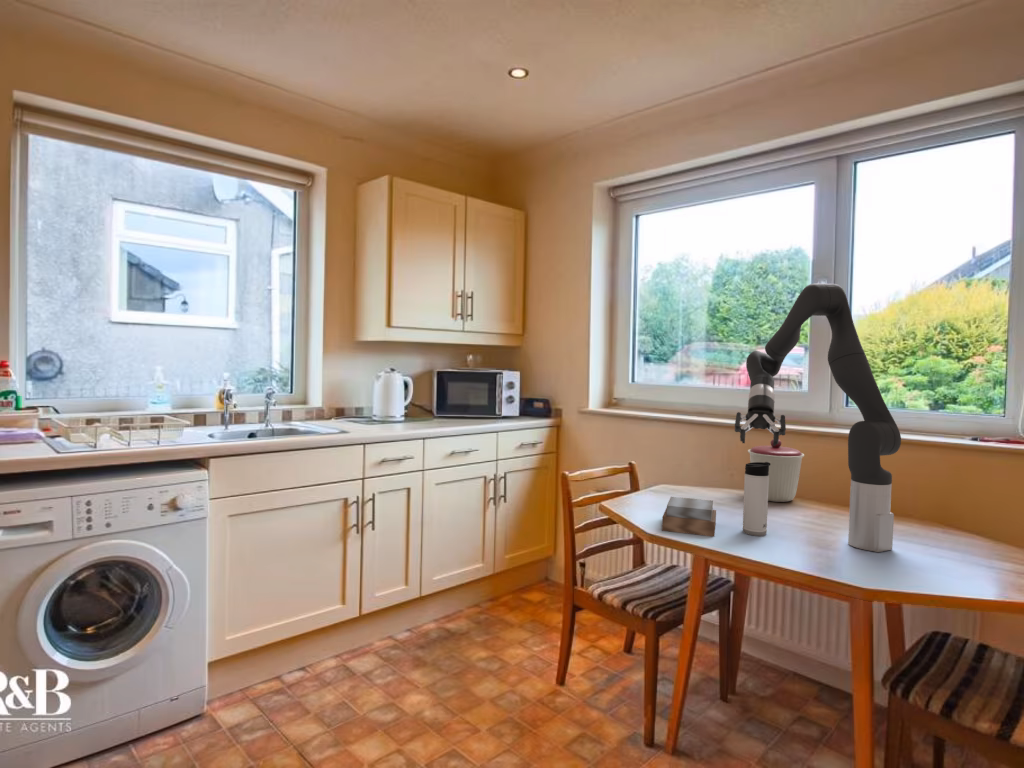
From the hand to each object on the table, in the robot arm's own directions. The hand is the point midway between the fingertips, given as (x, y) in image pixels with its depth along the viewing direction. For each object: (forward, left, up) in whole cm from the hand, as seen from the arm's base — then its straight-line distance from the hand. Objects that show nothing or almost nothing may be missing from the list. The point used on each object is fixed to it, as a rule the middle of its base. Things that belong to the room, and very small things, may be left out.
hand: (758, 443), depth 180 cm
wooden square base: (+4, +22, -24) cm, 33 cm away
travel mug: (-8, +9, -24) cm, 27 cm away
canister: (+19, -31, -24) cm, 44 cm away
